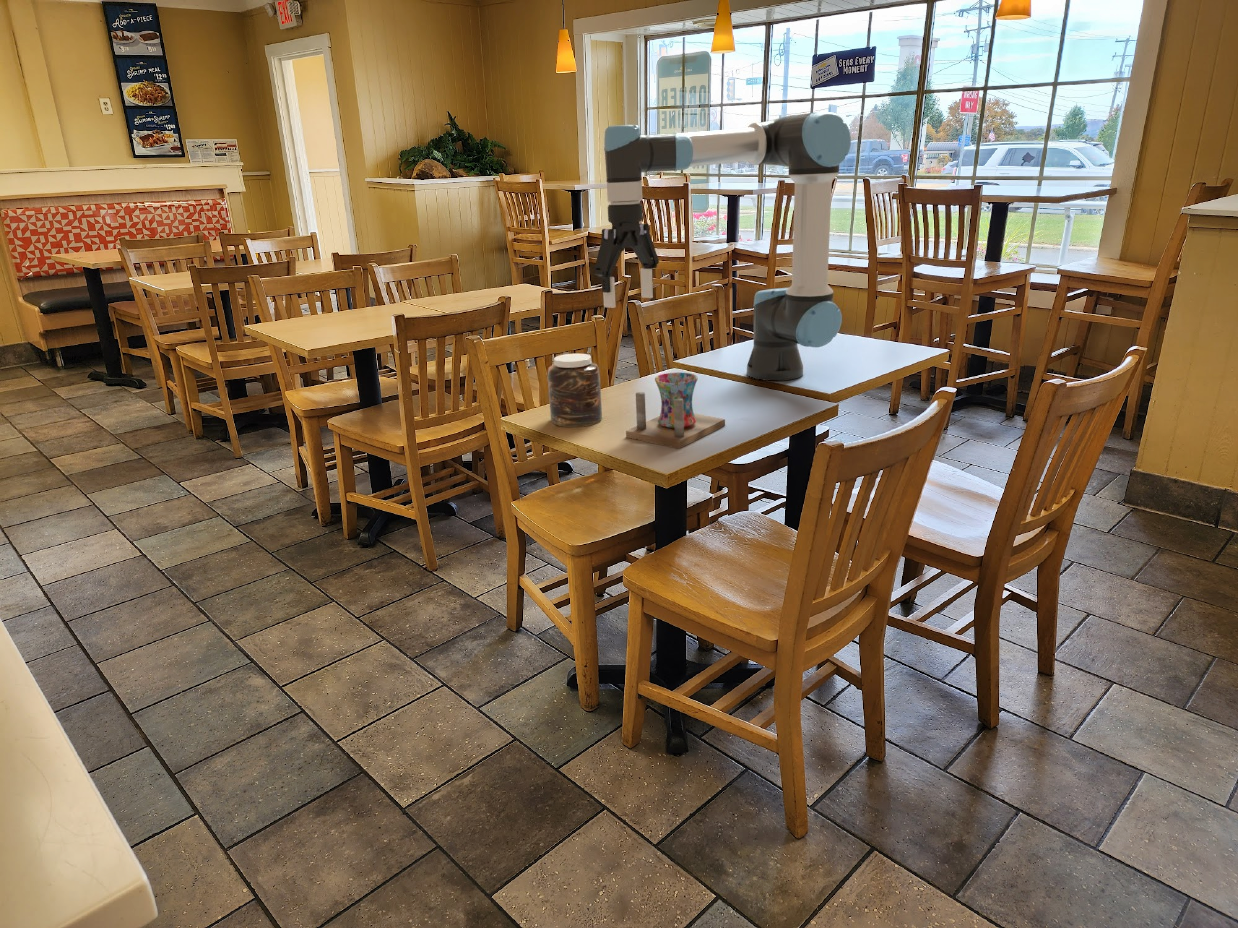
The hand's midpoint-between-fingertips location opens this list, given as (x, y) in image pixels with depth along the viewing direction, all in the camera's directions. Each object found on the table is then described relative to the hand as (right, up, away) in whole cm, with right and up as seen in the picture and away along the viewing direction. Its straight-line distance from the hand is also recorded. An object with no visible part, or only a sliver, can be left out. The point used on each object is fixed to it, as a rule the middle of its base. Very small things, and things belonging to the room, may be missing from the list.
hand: (629, 302), depth 181 cm
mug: (+11, -27, -2) cm, 29 cm away
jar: (-12, -26, +9) cm, 30 cm away
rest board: (+10, -29, -2) cm, 31 cm away
